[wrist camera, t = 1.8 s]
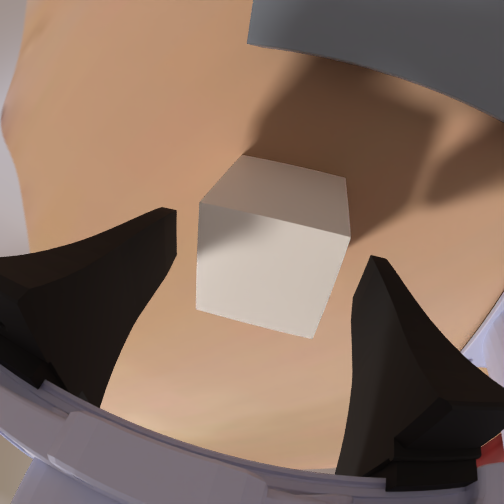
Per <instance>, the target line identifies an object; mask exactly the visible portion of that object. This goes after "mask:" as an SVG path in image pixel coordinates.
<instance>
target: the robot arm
mask: <svg viewBox="0 0 504 504" xmlns="http://www.w3.org/2000/svg"><path fill="white" fill-rule="evenodd" d="M176 217H177V210H173V209H168V208H164V207H161V208H158V209H155V210H153V211H150V212H148V213H145V214H143V215H141V216H139V217H136V218H134V219H132V220H130V221H128V222H125V223H123V224H121V225H119V226H116V227H114V228H112V229H109V230H107V231H104V232H102V233H100V234H97V235H95V236H92V237H89V238H87V239H84V240H81V241H78V242H75V243H72V244H68V245H65V246H61V247H57V248H53V249H49V250H45V251H41V252H36V253H30V254H25V255H18V256H9V257H0V435H2V436H3V437H4V438H5V439H7V440H8V441H9V442H10V443H12V444H13V445H14V446H16V447H17V448H18V449H20V450H21V451H22V452H24V453H25V454H26V455H28V456H29V457H30V458H32V459H33V461H32V463H31V464H30V467H29V468H28V470H27V472H26V474H25V476H24V478H23V480H22V482H21V483H20V486H19V487H18V489H17V492H16V493H15V495H14V497H13V500H12V502H11V504H504V462H499V463H492V464H486V465H482V466H479V467H477V465H476V459H479V458H480V457H481V455H482V454H481V446H482V445H484V444H485V443H487V442H488V441H489V440H491V439H492V438H493V437H495V436H496V435H497V434H499V433H500V432H501V433H502V440H503V446H504V292H503V294H502V295H501V297H500V298H499V300H498V301H497V303H496V304H495V306H494V307H493V309H492V310H491V312H490V313H489V315H488V316H487V318H486V319H485V320H484V322H483V323H482V325H481V326H480V327H479V329H478V330H477V331H476V333H475V334H474V335H473V337H472V338H471V339H470V341H469V342H468V343H467V344H466V346H465V347H464V348H463V349H462V351H461V352H460V351H459V350H458V349H457V348H456V347H455V346H454V345H453V344H452V343H451V342H450V341H449V340H448V339H447V338H446V337H445V336H444V335H443V334H442V333H441V331H440V330H439V329H438V328H437V327H436V326H435V325H434V323H433V322H432V321H431V320H430V319H429V317H428V316H427V315H426V313H425V312H424V311H423V309H422V308H421V307H420V306H419V304H418V303H417V301H416V300H415V299H414V297H413V296H412V294H411V293H410V292H409V290H408V289H407V287H406V286H405V284H404V283H403V281H402V280H401V279H400V277H399V276H398V274H397V273H396V271H395V270H394V268H393V267H392V266H391V264H390V263H389V262H388V260H387V259H385V258H381V257H377V256H373V255H371V256H370V258H369V261H368V263H367V266H366V268H365V270H364V273H363V275H362V278H361V280H360V282H359V285H358V287H357V289H356V292H355V294H354V296H353V303H352V315H351V334H352V369H353V373H352V388H351V397H350V405H349V411H348V417H347V423H346V429H345V434H344V439H343V443H342V448H341V452H340V456H339V460H338V464H337V468H336V472H335V475H334V474H324V473H317V472H309V471H303V470H296V469H290V468H285V467H279V466H274V465H269V464H264V463H259V462H255V461H250V460H246V459H242V458H238V457H234V456H230V455H226V454H222V453H219V452H215V451H212V450H208V449H205V448H201V447H198V446H195V445H192V444H189V443H186V442H182V441H179V440H177V439H174V438H171V437H168V436H165V435H162V434H160V433H157V432H154V431H152V430H149V429H147V428H144V427H142V426H139V425H137V424H134V423H132V422H129V421H127V420H125V419H122V418H120V417H118V416H115V415H113V414H111V413H109V412H107V411H105V410H102V409H100V405H101V402H102V399H103V396H104V393H105V390H106V387H107V384H108V382H109V379H110V376H111V374H112V371H113V369H114V366H115V364H116V361H117V359H118V357H119V355H120V352H121V350H122V348H123V346H124V343H125V341H126V339H127V337H128V335H129V333H130V331H131V329H132V327H133V325H134V324H135V322H136V320H137V319H138V317H139V315H140V314H141V312H142V311H143V309H144V308H145V306H146V305H147V303H148V302H149V301H150V299H151V298H152V296H153V295H154V293H155V292H156V290H157V289H158V287H159V286H160V284H161V283H162V281H163V280H164V278H165V277H166V275H167V273H168V272H169V270H170V268H171V266H172V264H173V261H174V259H175V257H176V255H177V237H176ZM476 366H477V367H485V368H487V370H488V374H489V377H488V376H487V375H486V374H485V373H483V372H482V371H481V370H480V369H479V368H477V367H476Z"/></svg>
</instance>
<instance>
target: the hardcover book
mask: <svg viewBox="0 0 504 504" xmlns="http://www.w3.org/2000/svg"><path fill="white" fill-rule="evenodd" d="M481 454H482V455H481V457H480V458H479V459H476V465H477V467H479V466H482V465H486V464H492V463H499V462H504V446H503V440H502V433H501V434H500V435H498V436H497V437H496V438H494V439H493V440H491V441H490V442H488V443H487V444H485V445H484V446H482V447H481Z"/></svg>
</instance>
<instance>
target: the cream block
mask: <svg viewBox="0 0 504 504" xmlns="http://www.w3.org/2000/svg"><path fill="white" fill-rule="evenodd" d="M350 239H351V231H350V218H349V207H348V196H347V187H346V178H345V177H341V176H337V175H333V174H329V173H325V172H321V171H316V170H312V169H308V168H304V167H299V166H295V165H290V164H286V163H281V162H276V161H271V160H267V159H262V158H257V157H251V156H246V155H241V156H240V157H239V158H238V159H237V161H236V162H235V163H234V164H233V165H232V166H231V167H230V168H229V169H228V170H227V172H226V173H225V174H224V175H223V176H222V177H221V178H220V179H219V180H218V182H217V183H216V184H215V185H214V186H213V187H212V188H211V190H210V191H209V192H208V193H207V194H206V195H205V196H204V198H203V199H202V200H201V201H200V203H199V223H198V246H197V278H196V309H197V310H201V311H204V312H208V313H211V314H215V315H219V316H222V317H226V318H230V319H233V320H237V321H241V322H245V323H248V324H252V325H256V326H260V327H264V328H268V329H272V330H276V331H280V332H284V333H288V334H293V335H297V336H301V337H306V338H310V339H313V336H314V334H315V332H316V329H317V327H318V324H319V322H320V319H321V317H322V314H323V312H324V309H325V307H326V304H327V302H328V299H329V296H330V294H331V291H332V289H333V286H334V283H335V281H336V278H337V275H338V272H339V270H340V267H341V264H342V261H343V259H344V256H345V253H346V250H347V247H348V244H349V242H350Z"/></svg>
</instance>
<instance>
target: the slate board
mask: <svg viewBox="0 0 504 504" xmlns="http://www.w3.org/2000/svg"><path fill="white" fill-rule="evenodd" d="M247 44H250V45H254V46H259V47H263V48H271V49H278V50H285V51H291V52H297V53H302V54H308V55H313V56H318V57H323V58H327V59H332V60H336V61H341V62H345V63H349V64H353V65H357V66H360V67H364V68H368V69H371V70H375V71H378V72H382V73H385V74H388V75H391V76H394V77H398V78H401V79H404V80H406V81H409V82H412V83H415V84H418V85H421V86H423V87H426V88H429V89H431V90H434V91H436V92H439V93H441V94H444V95H446V96H449V97H451V98H453V99H456V100H458V101H460V102H462V103H465V104H467V105H469V106H471V107H473V108H475V109H478V110H480V111H482V112H484V113H486V114H488V115H490V116H492V117H494V118H496V119H498V120H499V121H501V122H503V123H504V0H253V5H252V12H251V19H250V26H249V32H248V39H247Z"/></svg>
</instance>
